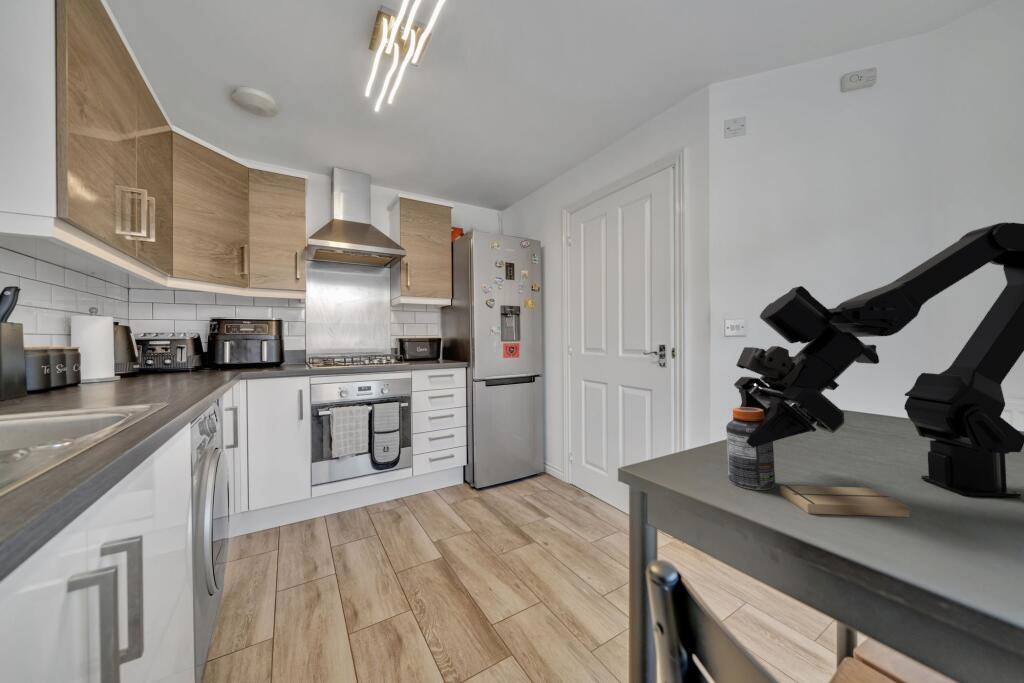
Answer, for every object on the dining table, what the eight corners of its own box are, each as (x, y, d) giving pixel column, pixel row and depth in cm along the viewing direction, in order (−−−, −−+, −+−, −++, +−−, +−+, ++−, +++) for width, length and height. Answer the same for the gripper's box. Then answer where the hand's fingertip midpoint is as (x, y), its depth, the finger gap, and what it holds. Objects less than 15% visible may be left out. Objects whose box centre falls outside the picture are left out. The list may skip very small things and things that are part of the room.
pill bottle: (761, 476, 59) (758, 405, 59) (784, 491, 53) (781, 411, 53) (721, 476, 60) (718, 405, 60) (740, 490, 54) (737, 412, 54)
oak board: (869, 496, 50) (869, 487, 50) (909, 516, 45) (909, 506, 45) (780, 494, 52) (780, 485, 52) (808, 513, 46) (807, 503, 46)
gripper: (744, 330, 65) (680, 394, 67) (813, 324, 47) (722, 413, 48) (795, 374, 64) (729, 438, 66) (888, 386, 46) (792, 475, 47)
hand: (739, 439), depth 57 cm, fingers closed on pill bottle, 6 cm apart
